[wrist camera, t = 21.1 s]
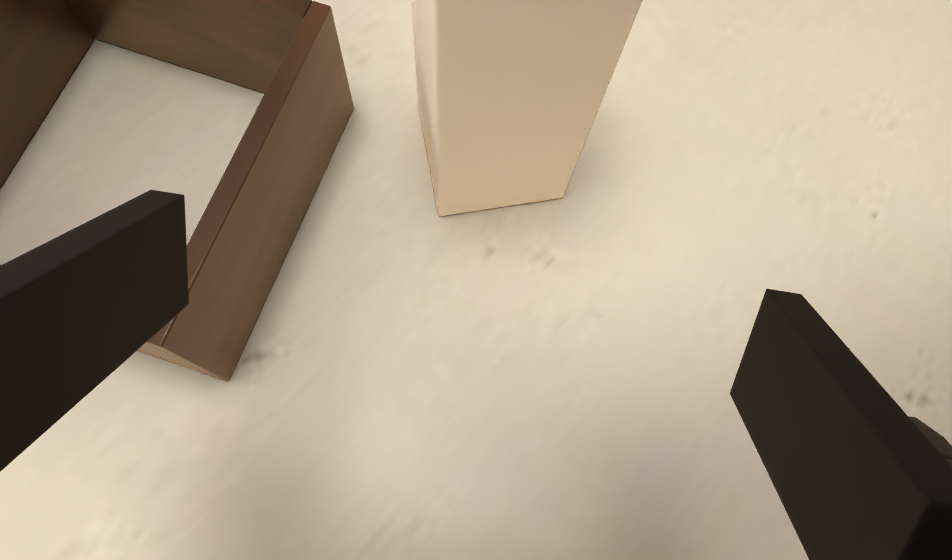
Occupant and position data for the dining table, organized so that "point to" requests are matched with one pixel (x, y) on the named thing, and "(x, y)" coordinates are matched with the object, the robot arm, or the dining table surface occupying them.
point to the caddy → (255, 160)
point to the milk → (511, 93)
